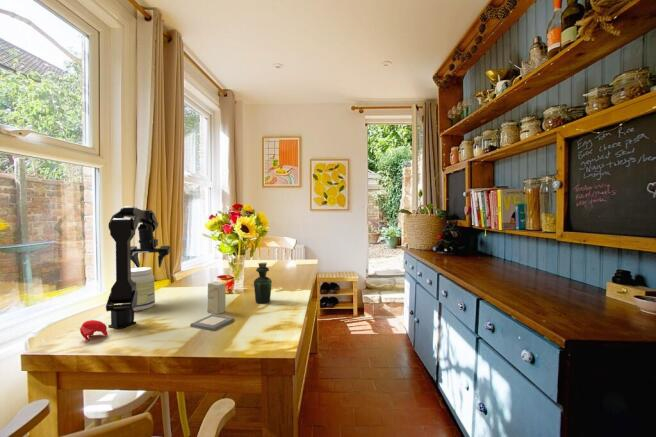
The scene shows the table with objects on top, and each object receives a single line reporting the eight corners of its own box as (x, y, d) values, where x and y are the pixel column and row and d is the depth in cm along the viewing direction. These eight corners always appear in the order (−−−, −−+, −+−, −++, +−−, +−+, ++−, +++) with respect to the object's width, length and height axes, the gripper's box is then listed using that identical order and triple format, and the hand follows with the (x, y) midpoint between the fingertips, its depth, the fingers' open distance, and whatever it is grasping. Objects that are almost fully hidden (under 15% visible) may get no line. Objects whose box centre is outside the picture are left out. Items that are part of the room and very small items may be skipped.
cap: (75, 334, 100) (95, 322, 102) (76, 323, 104) (95, 312, 106) (93, 348, 104) (111, 336, 106) (93, 336, 109) (111, 325, 111)
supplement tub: (161, 303, 143) (160, 266, 142) (142, 312, 131) (141, 272, 130) (136, 302, 144) (135, 266, 143) (115, 311, 132) (114, 271, 131)
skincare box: (207, 312, 130) (206, 283, 130) (215, 309, 134) (215, 281, 134) (218, 314, 128) (217, 285, 127) (226, 311, 131) (225, 282, 131)
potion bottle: (251, 301, 146) (250, 263, 145) (267, 298, 150) (266, 261, 150) (258, 305, 139) (258, 265, 138) (274, 302, 144) (274, 263, 143)
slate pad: (213, 330, 111) (213, 327, 111) (190, 326, 115) (190, 323, 115) (234, 320, 121) (234, 317, 121) (212, 316, 125) (211, 314, 125)
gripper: (172, 231, 154) (175, 260, 158) (130, 231, 150) (134, 261, 154) (166, 238, 143) (168, 269, 147) (120, 238, 140) (124, 271, 144)
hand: (149, 267), depth 148 cm, fingers open, 9 cm apart
